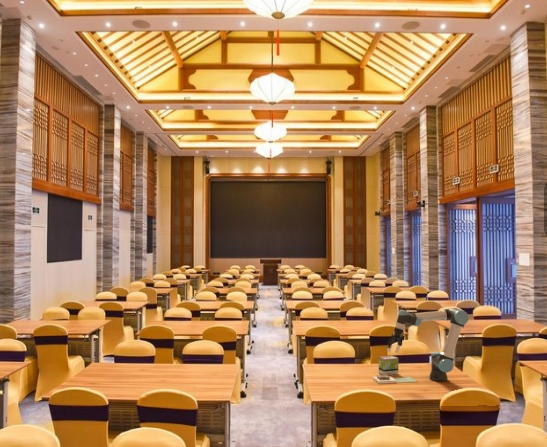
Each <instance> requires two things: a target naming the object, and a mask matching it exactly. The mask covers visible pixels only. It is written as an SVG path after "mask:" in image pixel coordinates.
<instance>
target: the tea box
mask: <svg viewBox="0 0 547 447" xmlns="http://www.w3.org/2000/svg"><path fill="white" fill-rule="evenodd" d="M378 374H379V375H380V374H381V375H387V376H391V375H392V376H393V375H399V357H397V356H394V355H388V356H387V355H386V356H378Z"/></svg>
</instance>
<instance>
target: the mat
mask: <svg viewBox="0 0 547 447" xmlns="http://www.w3.org/2000/svg"><path fill="white" fill-rule="evenodd" d="M393 378H394V379H395V380H397V383H398V384H400V383H401V384H403V383H418V381H417V379H414V378H412V377H411V376H403V377H402V376H401V377H400V376H399V377H393ZM397 383H396V384H397Z"/></svg>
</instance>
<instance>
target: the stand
mask: <svg viewBox="0 0 547 447" xmlns="http://www.w3.org/2000/svg"><path fill="white" fill-rule="evenodd" d="M388 376H389V377H390V379H388V380H379V379H378V378H377V376H372V380H374V381H375V382H376V383H377V384H379V385H381V384H397V380H395V379H394V378H395V377H392V376H391V375H388Z"/></svg>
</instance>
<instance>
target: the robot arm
mask: <svg viewBox="0 0 547 447" xmlns="http://www.w3.org/2000/svg"><path fill="white" fill-rule="evenodd" d="M469 318H470V317H469V314H468V312H466V311H465V310H463V309H460V308H457V307H454V308H453V307H452V308H444V309H442V310H436V311H426V312H425V311H424V312H415V313H414V312H413V313H409V311H406V310H404V309H400V310H399V313H398V314H397V319H396V322H395V327H394V329H393V332H392V333H391V336H390V337H389V340H388V341H387V345H388V346H387V350H386V352H387V353H391V351H392V348H393V347H392V346H393V344H394V342H395V341H397V345H396V347H395V352H394V353H396V354H399V351H400V349H401V348H400V347H402V346H403V338H404V337H403V333H404V331H405V327H406V324H409V325H413V326H414V327H415V326H416V327H420V326H421V324H422V322H430V321H432V322H433V321H440V320H444V321H449V324H450V327H449V331H448V333H447V336H446V340H445V343H444V346H443V349H442V352H431V356H430V357H431V358H430V360H431V361H430V362H431V364H430V366H431V370H430V372H429V380H431V381H435V382H442V383H443V382H447V381H448V374H447V373H450V372H452V371H453V369H454V366H455V365H454V359H455V357H454V353H455V349H456V346H457V344H458V340H459V337H460V334H461V331H462V329H464V327H465V325H466V324H467V323H468V322H469Z"/></svg>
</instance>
